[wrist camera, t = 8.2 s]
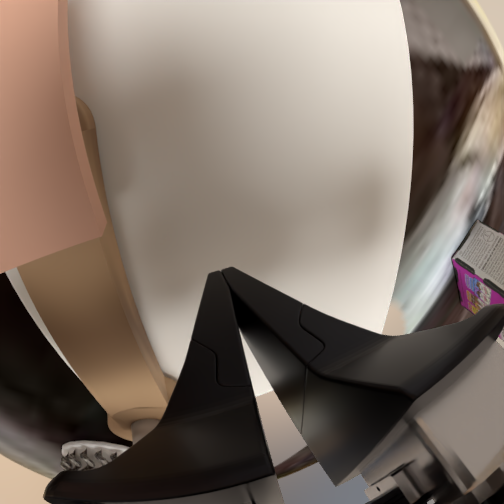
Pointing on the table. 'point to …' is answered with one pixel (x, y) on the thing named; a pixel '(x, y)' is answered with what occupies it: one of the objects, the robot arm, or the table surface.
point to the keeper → (41, 138)
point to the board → (248, 152)
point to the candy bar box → (480, 268)
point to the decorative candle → (89, 454)
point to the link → (100, 318)
